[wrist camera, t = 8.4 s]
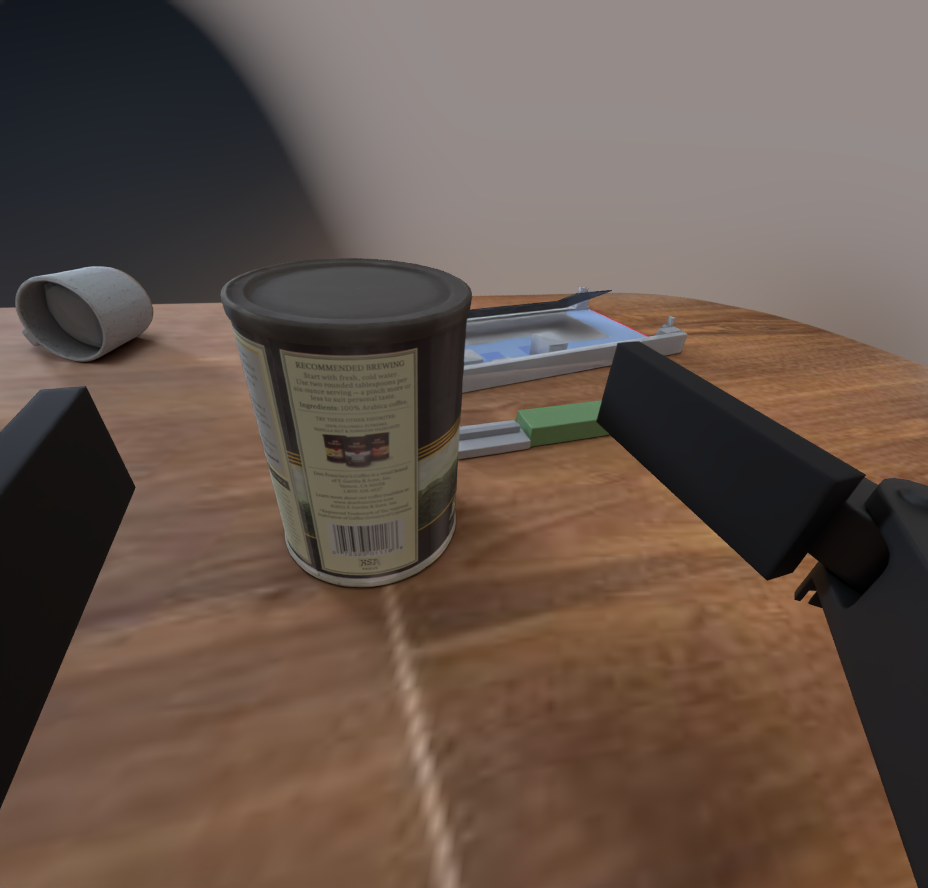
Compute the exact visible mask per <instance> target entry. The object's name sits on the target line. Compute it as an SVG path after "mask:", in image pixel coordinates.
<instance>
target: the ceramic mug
mask: <svg viewBox="0 0 928 888" xmlns="http://www.w3.org/2000/svg"><path fill="white" fill-rule="evenodd" d="M15 302H16V303H15V304H16V311H17V313H18V316H19V318H20V321H21V322H22V324H23V326H24V327H25V329H24V330H23V332H22V333H23V334H24V336H25V337H26V338H27V339H28V340H29V341H30V343H32V344H33V345H34V346H38V345H42V346H43V347H44V348H46V349H47V350H48V351H50V352H52V353H54V354H56V355H58V356H59V357H62V358H66V359H68V360H73V361H82V362H85V361H92V360H95V359H97V358H99V357H101V356H103V355H105V354H106V353H108V352H110V351H112V350H114V349H116V348H117V347H119V346H121V345H122V344H124V343H126V342H128V341H130V340H132V339H133V338H135V337H137V336H139V335H140V334H141V333H143V332H144V331H145V330H146V329H147V328H148V326H149V325H150V323H151V321H152V318H153V307H152V303H151V301H150V298H149V296H148V294H147V293H146V291H145V290H144V289H143V287H142V286H141V285H140V284H139V283H138V282H137V281H136V280H135V279H133V278H132V277H131V276H130V275H128V274H126V273H124V272H122V271H120V270H117V269H113V268H110V267H86V268H81V269H76V270H71V271H65V272H60V273H56V274H49V275H43V276H37V277H33V278H30V279H28V280H27V281H25V282H24V283H23V284H22V285H20V287H19V289H18V291H17V294H16V301H15Z"/></svg>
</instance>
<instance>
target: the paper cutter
mask: <svg viewBox="0 0 928 888" xmlns="http://www.w3.org/2000/svg"><path fill="white" fill-rule="evenodd" d="M610 291H612V290H607V291H596V292H588V288H586V287H579V289H578V293H576V294H574V295H571V296H569V297H566V298H564V299H561V300H559V301H552V302H542V303H532V304H522V305H512V306H502V307H492V308H482V309H472V310H470V311H469V313H468V315H467V325H466V339H465V354H464V377H463V387H462V393H464V392H469V391H475V390H480V389H486V388H491V387H497V386H502V385H507V384H513V383H518V382H524V381H529V380H534V379H540V378H545V377H551V376H556V375H562V374H567V373H572V372H578V371H583V370H589V369H594V368H600V367H605V366H610V365H612V361H613V358H614V354H615V350H616V346H617V343H621V342H633V341H640V342H641V343H643V344H645V345H646V346H648V347H650V348H652V349H653V350H655V351H657V352H658V353H660V354H662V355H663V356H665V355H670V354H676V353H681V350H682V348H683V345H684V342H685V340H686V337H687V334H686V333H684V332H682V330H680V329H678V328H675V327H673V323H674V320H675V318H674V317H672V316H669V318H668V321H667V324H665V325H663V326H662V329H658V331H657V334H656V336H651V337H649V336H647V335H645V334H643V333H641V332H639V331H636V330H634V329H632V328H630V327H628V326H626V325H624V324H622V323H620V322H617V321H615V320H613V319H611V318H609V317H607V316H605V315H603V314H601V313H598V312H596V311H594V310H592V309H590V307H589V306H587V305H588V301H589V299H591V298H594V297H596V296H599V295H602V294H605V293H607V292H610ZM569 306H571V307H569Z"/></svg>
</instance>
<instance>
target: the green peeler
mask: <svg viewBox="0 0 928 888" xmlns="http://www.w3.org/2000/svg"><path fill="white" fill-rule="evenodd" d="M601 402H602V400H600V401H592V402H584V403H576V404H567V405H559V406H551V407H543V408H535V409H527V410H519V411H517V418H516V421H515V420H509V421H501V422H494V423H486V424H478V425H471V426H463V427H460V433H459V450H458V460H459V459H465V458H472V457H478V456H485V455H491V454H498V453H504V452H511V451H518V450H524V449H529V448H530V447H533V446H539V445H546V444H553V443H559V442H566V441H573V440H579V439H586V438H592V437H599V436H606V435H610V434H609V433H608V432H607V431H606V430H604V429H603V428H602V427H601V426H600V425H599V424H598V423H597V422H596V420H597V417H598V413H599V409H600V406H601Z"/></svg>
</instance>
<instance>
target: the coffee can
mask: <svg viewBox="0 0 928 888" xmlns="http://www.w3.org/2000/svg"><path fill="white" fill-rule="evenodd" d="M471 299H472V293H471V289H470V287H469V286H468V285H467V284H466V283H465V282H464V281H462V280H461V279H459V278H457V277H455V276H453V275H451V274H449V273H446V272H444V271H441V270H438V269H434V268H430V267H426V266H422V265H418V264H412V263H405V262H398V261H391V260H378V259H355V258H352V259H351V258H345V259H344V258H343V259H342V258H341V259H315V260H305V261H295V262H289V263H281V264H277V265H272V266H268V267H264V268H259V269H256V270H253V271H249V272H247V273H244V274H242V275H240V276H238V277H236V278H234V279H232V280H231V281H229V282H228V283H227V284H226V285H225V286H224V287H223V288H222V290H221V300H222V304H223V307H224V310H225V313H226V315H227V316H228V318H229V319H230V320H231V323H232V327H233V331H234V335H235V339H236V343H237V346H238V350H239V354H240V358H241V362H242V366H243V370H244V373H245V377H246V381H247V385H248V389H249V393H250V397H251V401H252V405H253V408H254V412H255V416H256V420H257V424H258V428H259V432H260V436H261V440H262V444H263V447H264V451H265V456H266V459H267V462H268V467H269V471H270V475H271V479H272V483H273V486H274V490H275V494H276V498H277V502H278V506H279V510H280V514H281V518H282V522H283V526H284V530H285V540H286V544H287V547H288V550H289V553H290V555H291V556H292V557H293V558H294V560H295V561H296V562H297V564H298V565H299V566H301V567H302V568H303V569H304V570H305V571H306V572H308V573H309V574H311V575H313V576H314V577H316V578H318V579H320V580H323V581H325V582H329V583H332V584H336V585H340V586H350V587H372V586H380V585H386V584H390V583H393V582H397V581H400V580H403V579H405V578H408V577H410V576H412V575H415V574H417V573H419V572H420V571H421V570H423V569H424V568H426V567H427V566H429V565H430V564H432V563H433V562H434V561H435V560H436V559H437V558H438V557H439V556H440V555H441V554H442V553H443V551H444V550H445V549H446V547H447V546H448V544H449V543H450V541H451V538H452V536H453V533H454V531H455V525H456V515H455V504H456V487H457V467H458V450H459V433H460V417H461V402H462V387H463V377H464V354H465V339H466V325H467V315H468V313H469V311H470V306H471Z"/></svg>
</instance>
